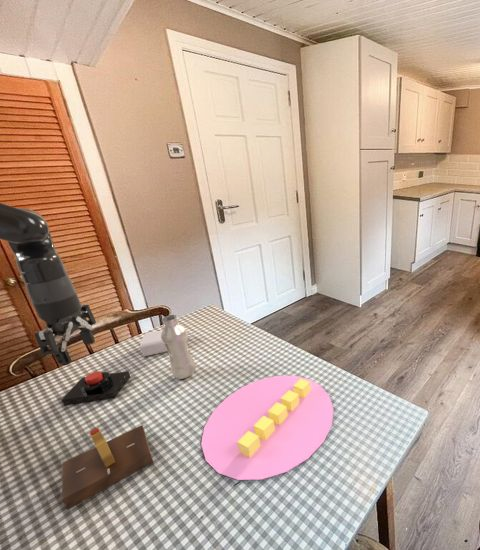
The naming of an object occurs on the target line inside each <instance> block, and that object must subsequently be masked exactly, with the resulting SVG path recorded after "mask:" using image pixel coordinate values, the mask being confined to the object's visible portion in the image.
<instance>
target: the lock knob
mask: <svg viewBox="0 0 480 550" xmlns="http://www.w3.org/2000/svg"><path fill="white" fill-rule="evenodd" d="M89 436H90V438H91V440H92V442H93V444H94V447H96V449H97V451H98V453H99V455H100V457H101V459H102V461H103V463H104V465H105V467H108V466H110V465H111V464H113V463H115V460H114V458H113V455H112V453H111V451H110V449H109V447H108V444H107V440H106V439H105V437H104V435H103V433H102V431H101V429H100V428H99V427H96V428H94V429H91V431H89Z"/></svg>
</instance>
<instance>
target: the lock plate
mask: <svg viewBox="0 0 480 550" xmlns="http://www.w3.org/2000/svg"><path fill="white" fill-rule="evenodd" d="M106 442H107V444H108V447H109V449H110V451H111V453H112V455H113V458H114V460H115V463H113V464H111V465H110V466H108V467H105V465H104V463H103V461H102V459H101V457H100V455H99V453H98V451H97V449H96V446H94V447H93V448H91V449H87V450H86V451H84V452H82V453H79V454H78V455H75V456H73V457H71V458H69V459H67V460H65V461H62V474H61V475H62V478H61V479H62V483H61V501H62V502H63V504H64V505H65V507H66V509H67V510H69V509H72V508H73V507H75V506H77V505H78V504H80V503H81V504H82V503H83V502H84V501H86V500H89V498H92V497H94V496H95V495H97V494H100V493H101V492H102V491H104V490H107V489H108V488H110V487H112V486H113V485H116V484H117V483H120V482H121V481H123V480H124V479H126V478H129V477H130V476H132V475H133V474H135V473H138V472H139V471H141V470H143V469H144V468H146V467H148V466H150V465H152V464H153V463H154V462H155V461H154V458H153V454H152V450H151V447H150V444H149V439H148V437H147V432H146V430H145V428H144V425H143V424H141V425H139V426H137V427H135V428H133V429H131V430H129V431H126V432H124V433H123V434H122V433H121V434H120V435H118V436H116V437H114V438H112V439H109V440H106Z"/></svg>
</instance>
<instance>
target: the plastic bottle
mask: <svg viewBox="0 0 480 550" xmlns="http://www.w3.org/2000/svg"><path fill="white" fill-rule="evenodd" d="M161 321H162V326H163V329H162V330H163V331H162V333H161V339H162V341H163V343H164V345H165V347H166V349H167V354H168V358H169V363H170V372H171V374H172V376H173V377H174V378H176V379H179V380H183V379H187V378H189V377H191V376H192V375H193V374H194V373H195V372H196V367H197V366H196V362H195V360H194V358H193V356H192V354H191V351H190V348H189V343H188V340H187V332H188V331H187V329H186V328H185V327H184V325H182V324H180V323H179V319H178V316H177V315H176V314H169V315H166V316H163V317H162V318H161Z"/></svg>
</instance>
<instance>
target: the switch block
mask: <svg viewBox="0 0 480 550" xmlns="http://www.w3.org/2000/svg"><path fill="white" fill-rule="evenodd" d="M100 372H101V373H102V375H103V379H102V380H101V381H99V382H98V383H95V384H91V385H87V383H86V381H85V377H86V376H83V377H81V378H80V379H79V380H78V382H76V384H74V385H73V387H72V388H71V389H70V390H68V392H67V393H66V394H65V395H64V396H63V397H62V398H61V402H62V404H63V406H65V407H67V406H72V405H78V404H79V405H81V404H86V403H94V402H100V401H101V402H102V401H106V400H107V401H108V400H115V399H116V398H117V396H118V395H119V394H120V392H121V391H122V390H123V388H124V387H125V386H126V384H127V383H128V381H129V380H130V379H131V374H130V371H128V370H127V371H120V372H112V373H110V372H107V371H100Z"/></svg>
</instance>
